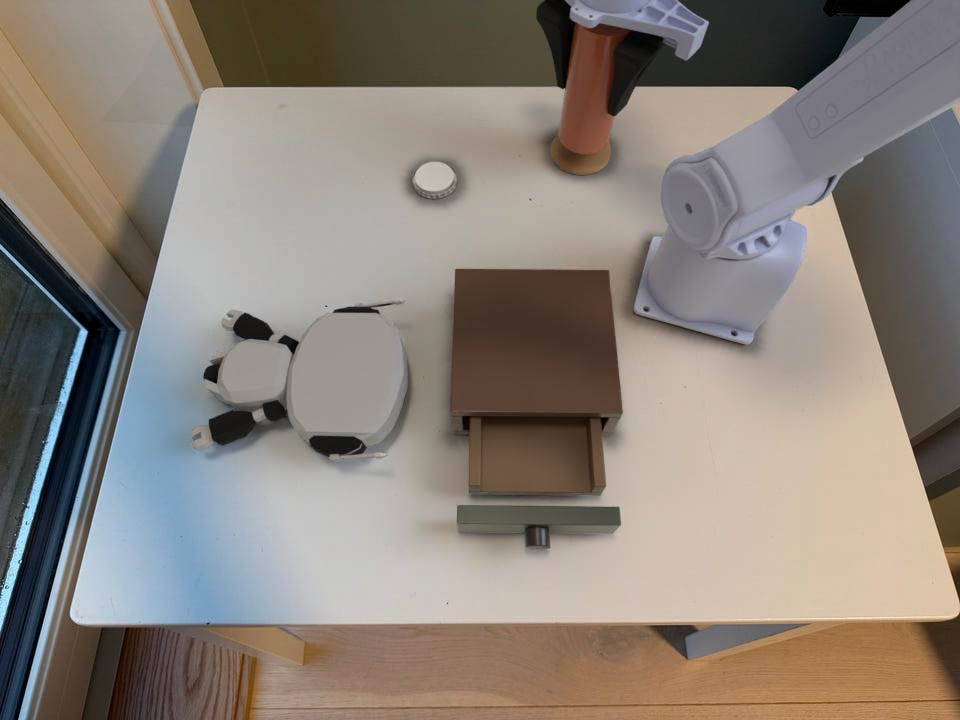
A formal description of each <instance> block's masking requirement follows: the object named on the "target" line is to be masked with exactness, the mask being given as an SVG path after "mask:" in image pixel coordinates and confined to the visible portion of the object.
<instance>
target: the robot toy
mask: <svg viewBox="0 0 960 720" xmlns="http://www.w3.org/2000/svg"><path fill="white" fill-rule="evenodd" d="M406 301H407V300H406V299H404V298H394V299H393V300H386V301H380V302H374V303H366V304H363V303H362V302H360V303H355V304H354V305H353V306H349V305H348V306H346V307H340V308H337V309H334V310H333V311H332V312H327V313H325V314H324V315H322V316H320V317H317V318H316V319H315V320H314V321H313V322H312V323H311V324H310V325H309V326H308V327H307V329H306V330H305V331H304V333H303V334H302V336H301V338H300V341H299V340H298V339H296V338H293V337H291V336H289V335H287V334H283V335H282V336H281V337H280V336H278V335H276V334H275V332H274V330H273V329H272V328H271V326H270V325H269V324H268V322H266V321H264V320H262V319H261V318H258V317H256V316H254V315H252V314H250V313H247V312H243V311H241V310H237V309H236V310H235V309H230V310H228V311H227V312H226V314H225V315H226V316H227V317H228V318H230V320H229V319H228V318H225V317H223V318H222V319H221V322H220V323H221V327H222V328H223V329H224V330H225V331H227V332H233V333H234V335H235V336H237V337H238V338H240V339H242V340H241V341H238V342H236V343H235V344H234V345H233V346H230V347H227V348H223V349H221V350H217V351H216V352H215V353H214V354H213V355H212V357H211V358H210V359H209V362H210V363H211V364H210V365H208V366H206V368H205V369H204V372H203V375H202V378H203V381H204V383H205V387H206V389H207V390H208V391H209V392H210V393H211V394H212V395H214V396H215V398H217V399H218V400H219V401H220V402H222V403H224V404H227V405H229V406H231V407H232V408H233V409H235V410H233V409H232V410H229V411H227V412H224V413H221V414H219V415H216V416H214V417H211V418H209V419H208V425H198V426H197V427H196V428H194V429H193V430H191V432H190V435H189V437H190V440H191V447H192V448H193V449H194V450H196V451H204V450H209V449H210V448H211V447H213V445H215V443H216V444H217V445H218V446H222V447H224V446H226V445H228V444H231V443H233V442H236V441H238V440H242V439H244V438H246V437H247V436H248V435H249V433H251V431H252V430H253V429H254V428H255V427H256V425H257V424H258V423H259V422H260V423H261V422H262V421H265V420H268V421H270V422H271V423H274V422H277V421H280V420H282V419H285V418H287V415H288V420H289V422H290V423H291V425H292V427H293V429H294V431H295V432H296V434H298V435H299V437H301V439H303V441H305V442H307V443H308V444H309V446H310V447H311V449H312V450H314V452H316V453H317V454H320V455H322V456H324V457H326V458H328V459H329V460H328V461H330V462H332V463H341V462H343V461H344V460H345V461H346V460H362V459H384V458H385V457H387V456H388V454H386V453H383V452H381V451H379V452H374V453H365V452H366V449H367V448H369V447H372V446H375V445H378V444H381V443H382V442H383V441H384V440H385V439H386V438H387V436H389V434H391V432H392V430H393V429H394V427H395V426H396V424H397V421H398V419H399V416H400V414H401V411H402V408H403V405H404V401H405V397H406V395H407V390H408V388H409V373H408V358H407V353H406V349H405V345H404V342H403V340H402V337H401V334H400V332H399V330H398V328H397V326H396V325H395V323H394V322H393V320H392V319H391V318H389V317H387V316H384V315H382V314H381V313H380V311H379V309H376V308H381V307H386V306H394V305H396V306H399V305H403V304H405V302H406ZM286 411H287V412H286Z"/></svg>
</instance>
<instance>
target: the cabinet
mask: <svg viewBox="0 0 960 720" xmlns="http://www.w3.org/2000/svg"><path fill="white" fill-rule="evenodd" d="M453 286H454V288H453V289H454V291H453V292H454V293H453V315H452V317H453V321H452V348H451V349H452V350H451V375H450V376H451V378H450V379H451V380H450V407H449V408H450V409H449V413H450V421H451V430H452V434H453V435H456V436H457V435H460V436H461V435H462V436H463V435H464V436H467V435H468V436H470V416H535V417H601V428H602V437H610V436H612V434H613V432H614V430H615V428H616V427H617V425H618V424H619V422H620V420H621V417H622V416H623V414H624V409H623V399H622V397H623V396H622V390H621V389H622V388H621V377H620V369H619V368H620V367H619V357H618V348H617V347H618V346H617V337H616V329H615V317H614V307H613V299H612V298H613V297H612V288H611V278H610V270H609V269H548V268H547V269H546V268H545V269H544V268H543V269H542V268H541V269H540V268H539V269H537V268H455V269H454V285H453Z"/></svg>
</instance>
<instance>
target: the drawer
mask: <svg viewBox="0 0 960 720" xmlns="http://www.w3.org/2000/svg"><path fill="white" fill-rule="evenodd" d="M468 436H469V439H468V440H469V441H468V494H469V495H489V496H490V495H492V496H493V495H495V496H497V495H499V496H500V495H501V496H502V495H503V496H588V497H589V496H591V497H592V496H595V497H597V496H598V497H601V495H602V494H603V493H604V491H605V489H606V487H607V479H606V478H607V477H606V466H605V455H604V453H605V452H604V443H603V442H604V441H603V436H602V428H601V417H535V416H470V435H468ZM456 526H457V532H458V533H483V534H484V533H493V534H494V533H495V534H496V533H497V534H500V533H501V534H524V547H525V549H527V550H529V551H530V550H532V551H545V550H549V549H550V548H551V534H583V535H584V534H585V535H586V534H587V535H588V534H589V535H590V534H591V535H592V534H593V535H595V534H597V535H600V534H601V535H612V534H614V533H615V532H616V531H617V530H618V529H619V528H620V527H621V526H622V517H621V507H620V506H594V505H593V506H592V505H591V506H585V505H583V506H581V505H577V506H575V505H495V504H494V505H489V504H488V505H487V504H485V505H484V504H482V505H479V504H458V505H456Z"/></svg>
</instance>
